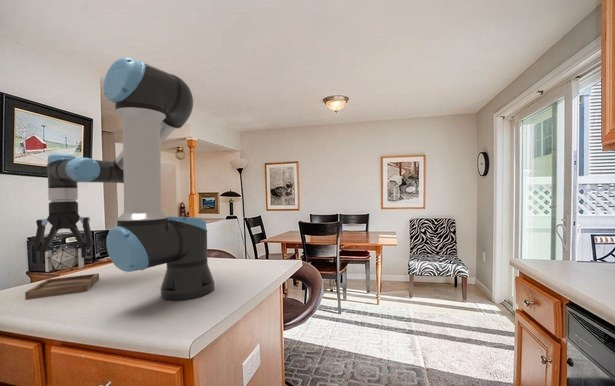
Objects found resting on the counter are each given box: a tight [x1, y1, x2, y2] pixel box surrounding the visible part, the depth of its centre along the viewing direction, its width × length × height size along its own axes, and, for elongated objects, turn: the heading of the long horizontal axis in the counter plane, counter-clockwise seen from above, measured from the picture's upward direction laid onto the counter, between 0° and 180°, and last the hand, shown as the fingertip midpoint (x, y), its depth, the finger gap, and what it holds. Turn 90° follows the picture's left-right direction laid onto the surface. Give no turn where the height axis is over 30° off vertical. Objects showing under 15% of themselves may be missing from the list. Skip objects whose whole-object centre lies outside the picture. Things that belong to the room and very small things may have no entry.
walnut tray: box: [24, 273, 100, 300], centre depth 96 cm, size 15×15×2 cm
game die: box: [47, 245, 78, 273], centre depth 96 cm, size 9×8×10 cm
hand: (65, 269), depth 96 cm, fingers closed on game die, 8 cm apart
